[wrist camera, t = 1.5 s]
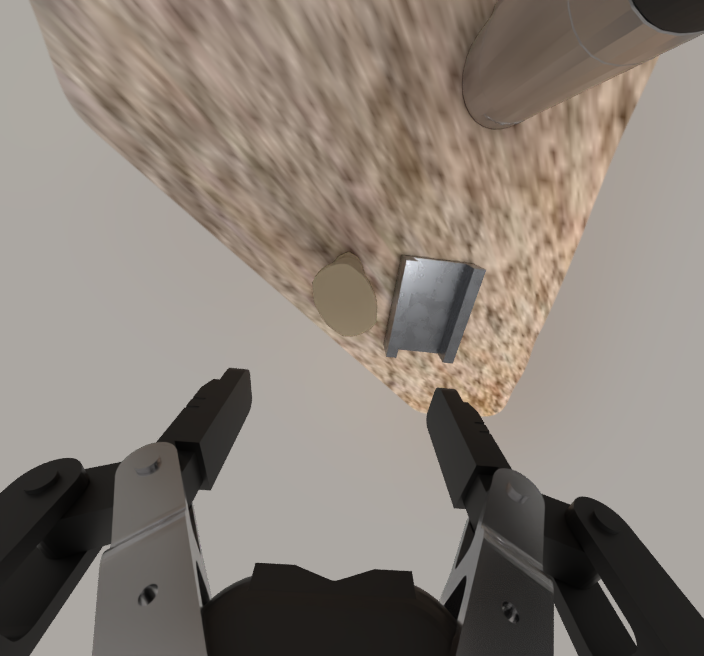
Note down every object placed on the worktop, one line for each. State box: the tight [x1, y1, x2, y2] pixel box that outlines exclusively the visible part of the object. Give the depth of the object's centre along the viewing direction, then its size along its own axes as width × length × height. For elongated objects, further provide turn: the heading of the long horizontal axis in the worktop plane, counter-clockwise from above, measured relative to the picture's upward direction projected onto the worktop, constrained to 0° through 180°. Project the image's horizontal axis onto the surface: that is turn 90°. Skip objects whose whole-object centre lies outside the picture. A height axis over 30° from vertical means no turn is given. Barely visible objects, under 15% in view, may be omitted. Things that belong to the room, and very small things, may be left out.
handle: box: [312, 252, 377, 337], centre depth 27 cm, size 5×6×15 cm
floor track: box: [384, 255, 486, 363], centre depth 35 cm, size 14×10×4 cm
